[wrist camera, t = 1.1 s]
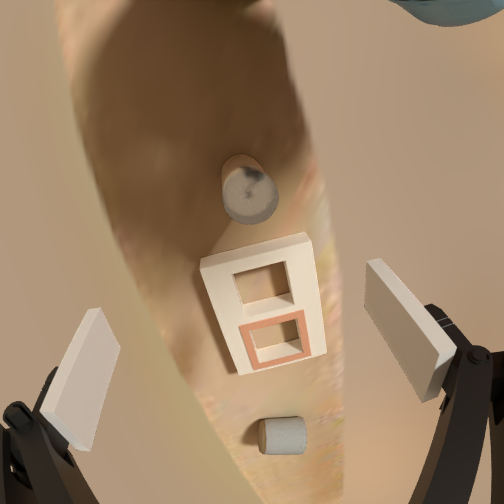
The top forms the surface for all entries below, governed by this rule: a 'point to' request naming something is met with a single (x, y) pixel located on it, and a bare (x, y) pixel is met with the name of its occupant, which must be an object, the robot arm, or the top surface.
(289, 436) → the ceramic mug
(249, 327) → the pin board
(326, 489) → the top surface
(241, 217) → the pin
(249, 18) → the top surface
